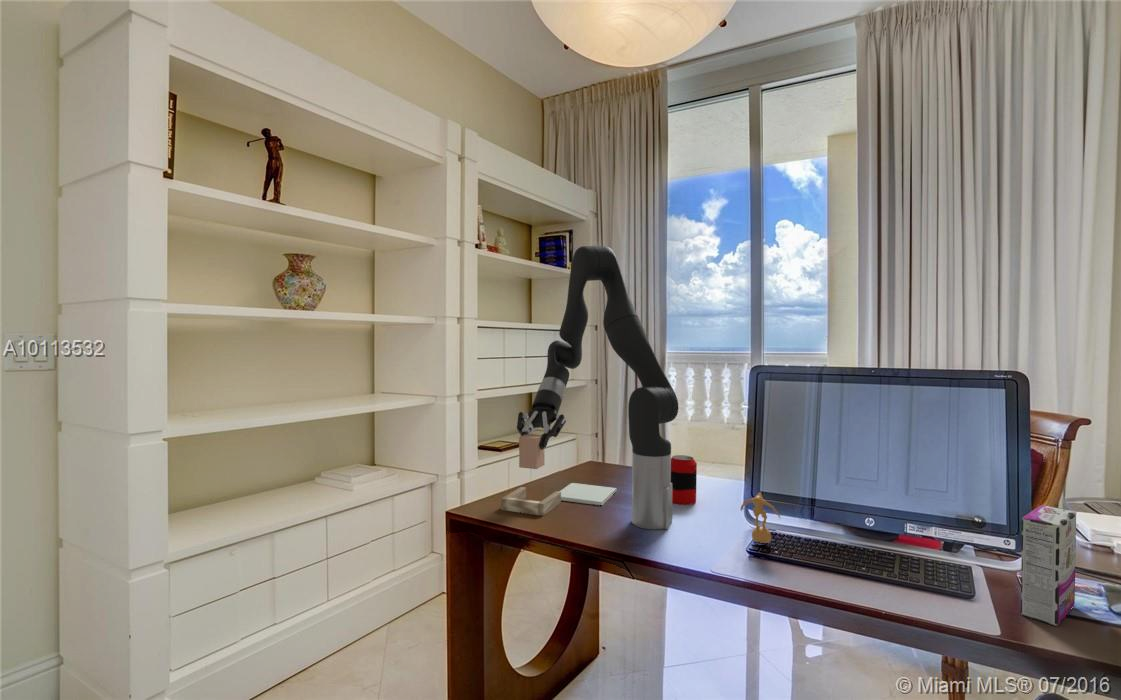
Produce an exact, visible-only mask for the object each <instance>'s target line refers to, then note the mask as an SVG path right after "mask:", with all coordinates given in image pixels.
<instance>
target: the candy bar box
mask: <svg viewBox="0 0 1121 700" xmlns="http://www.w3.org/2000/svg"><path fill="white" fill-rule="evenodd" d="M1076 539H1077V511H1073V510H1069V509H1064V508H1059V507H1053V506H1051V505H1042V504H1041V505H1039V506H1038V507H1036V508H1035V509H1033V510H1032V511H1030V512H1029V513H1027V514H1026V515H1024V516H1023V517H1021V565H1020V566H1021V574H1020V576H1021V578H1020V580H1021V581H1020V583H1021V585H1020V614H1021V615H1022V616H1024V617H1026V616H1027V618H1029V617H1030V618H1029V619H1032V618H1033V620H1035V619H1036V620H1035V621H1038V622H1042V623H1045V624H1048V625H1051V626H1055V627H1059V625H1061V623H1063V621H1064V620H1065V618H1066V617H1067V616H1068V614H1069V613H1070V612H1071V611H1072V610H1071V608H1072V607H1073V606H1074V604H1075V605H1076V602H1075V601H1076V600H1075V598H1076V590H1075V589H1076V548H1077V547H1076V546H1077V545H1076V541H1077V540H1076ZM1074 607H1075V606H1074ZM1074 607H1073V608H1074ZM1070 610H1071V611H1070ZM1069 611H1070V612H1069ZM1068 612H1069V613H1068ZM1066 615H1067V616H1066Z"/></svg>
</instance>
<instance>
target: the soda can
mask: <svg viewBox="0 0 1121 700" xmlns="http://www.w3.org/2000/svg"><path fill="white" fill-rule="evenodd" d="M697 467H698V466H697V462H696V460H695V458H694V457H692V456H691V455H685V454H684V455H683V454H677V455H676V454H675V455H671V483H672V504H676V505H681V504H683V505H684V506H685V505H686V506H687V504H688V505H694V504H695V503H696V502H697V469H698V468H697Z"/></svg>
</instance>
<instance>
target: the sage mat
mask: <svg viewBox="0 0 1121 700" xmlns="http://www.w3.org/2000/svg"><path fill="white" fill-rule="evenodd" d="M617 490H618V489H617V488H616V487H611V486H601V485H593V484H585V483H577V482H571V483H569V484H568V485H566V486H565V487H564V488H562V489H561V490H559V492H561V501H565V502H570V503H571V502H573V503H577V504H578V503H579V504H585V505H586V504H587V505H593V504H594V505H593V506H600V505H602V506H603V505H604V504H605V503H607V501H608V500H609V499H611V498H612V497H613V494H614V493H615V492H616V491H617ZM616 493H617V492H616ZM616 493H615V494H616ZM615 494H614V495H615Z"/></svg>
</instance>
